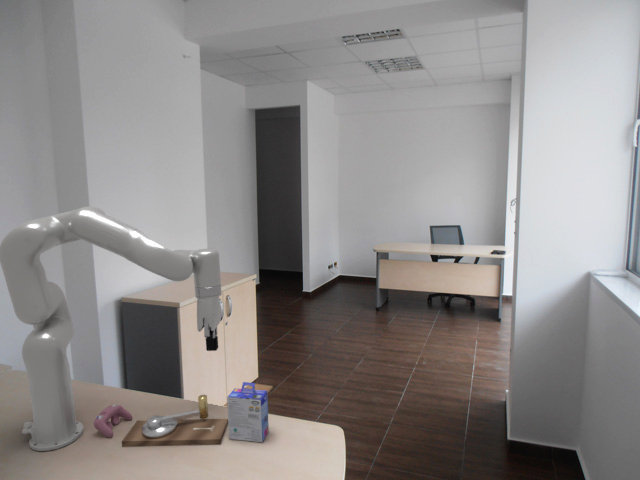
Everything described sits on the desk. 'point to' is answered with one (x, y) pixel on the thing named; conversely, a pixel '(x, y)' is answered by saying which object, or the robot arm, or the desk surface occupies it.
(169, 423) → the silver lever with knob
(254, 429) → the ink cartridge box
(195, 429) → the stand plate
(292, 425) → the desk surface
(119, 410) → the video game controller
